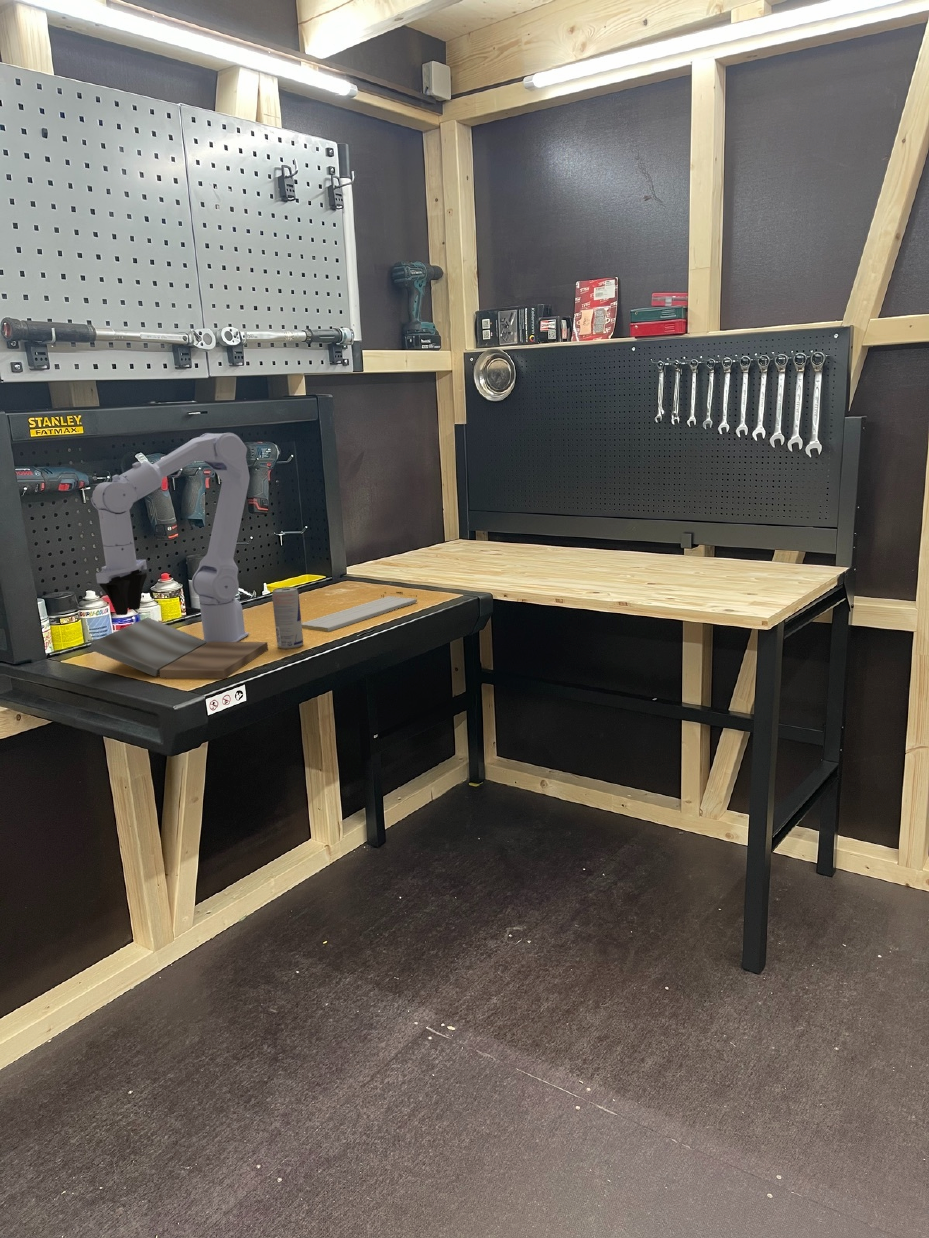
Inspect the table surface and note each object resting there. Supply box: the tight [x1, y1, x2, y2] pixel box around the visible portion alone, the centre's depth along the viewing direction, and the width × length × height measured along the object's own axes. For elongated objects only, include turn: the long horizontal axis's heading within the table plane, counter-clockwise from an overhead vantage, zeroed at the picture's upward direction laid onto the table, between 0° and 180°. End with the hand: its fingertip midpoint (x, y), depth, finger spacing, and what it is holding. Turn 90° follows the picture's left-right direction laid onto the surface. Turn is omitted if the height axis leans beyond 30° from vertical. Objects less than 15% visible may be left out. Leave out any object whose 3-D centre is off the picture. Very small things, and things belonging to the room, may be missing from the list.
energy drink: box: [271, 586, 304, 650], centre depth 190 cm, size 5×5×12 cm
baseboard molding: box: [301, 591, 418, 633], centre depth 217 cm, size 31×3×12 cm
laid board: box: [159, 641, 269, 680], centre depth 181 cm, size 20×13×2 cm, turn 168°
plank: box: [89, 617, 207, 677], centre depth 184 cm, size 20×14×2 cm
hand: (128, 611), depth 183 cm, fingers open, 4 cm apart
